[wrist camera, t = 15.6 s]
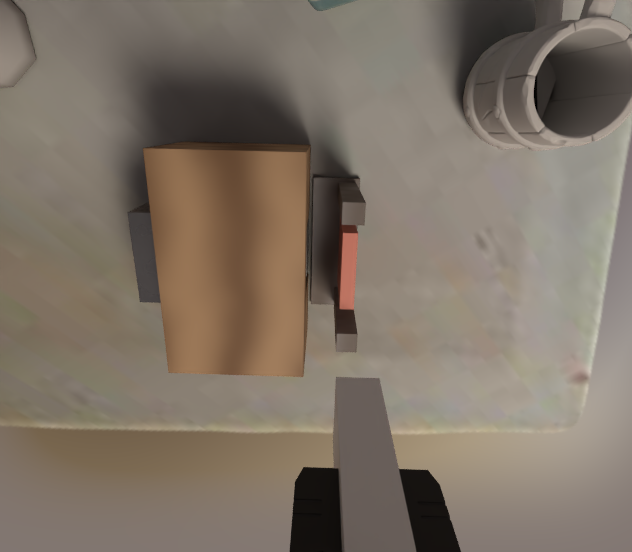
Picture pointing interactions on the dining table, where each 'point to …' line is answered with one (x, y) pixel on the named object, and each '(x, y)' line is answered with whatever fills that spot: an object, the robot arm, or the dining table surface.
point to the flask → (14, 44)
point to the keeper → (347, 265)
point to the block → (245, 254)
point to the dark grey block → (152, 253)
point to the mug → (553, 81)
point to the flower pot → (327, 4)
